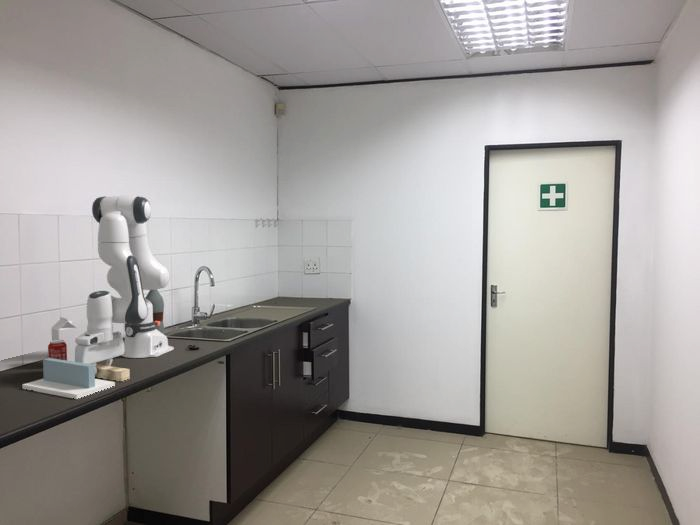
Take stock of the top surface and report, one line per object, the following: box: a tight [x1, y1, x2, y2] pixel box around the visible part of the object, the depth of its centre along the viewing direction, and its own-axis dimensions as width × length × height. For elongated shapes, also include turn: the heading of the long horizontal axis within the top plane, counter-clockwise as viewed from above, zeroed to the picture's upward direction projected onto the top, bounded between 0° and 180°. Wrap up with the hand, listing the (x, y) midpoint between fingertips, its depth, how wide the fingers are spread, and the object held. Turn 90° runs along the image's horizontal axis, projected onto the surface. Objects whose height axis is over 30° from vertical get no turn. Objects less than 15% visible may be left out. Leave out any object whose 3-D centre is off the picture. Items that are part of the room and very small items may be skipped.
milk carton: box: [51, 316, 78, 362], centre depth 233 cm, size 7×7×19 cm
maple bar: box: [95, 363, 131, 382], centre depth 217 cm, size 24×4×4 cm, turn 66°
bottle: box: [144, 289, 166, 335], centre depth 279 cm, size 9×9×30 cm
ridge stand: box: [21, 357, 116, 400], centre depth 203 cm, size 16×26×9 cm, turn 66°
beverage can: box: [47, 340, 67, 361], centre depth 222 cm, size 6×6×12 cm
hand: (101, 372), depth 217 cm, fingers open, 4 cm apart
